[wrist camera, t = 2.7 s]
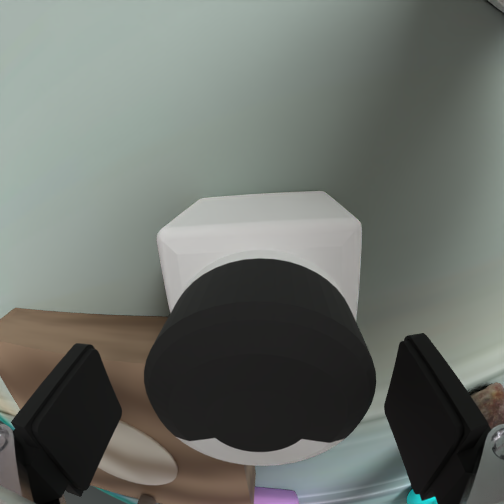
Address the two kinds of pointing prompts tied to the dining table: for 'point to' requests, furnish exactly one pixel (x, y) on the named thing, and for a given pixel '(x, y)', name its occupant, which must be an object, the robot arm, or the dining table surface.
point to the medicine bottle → (261, 328)
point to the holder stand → (131, 401)
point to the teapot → (274, 496)
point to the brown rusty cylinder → (491, 404)
